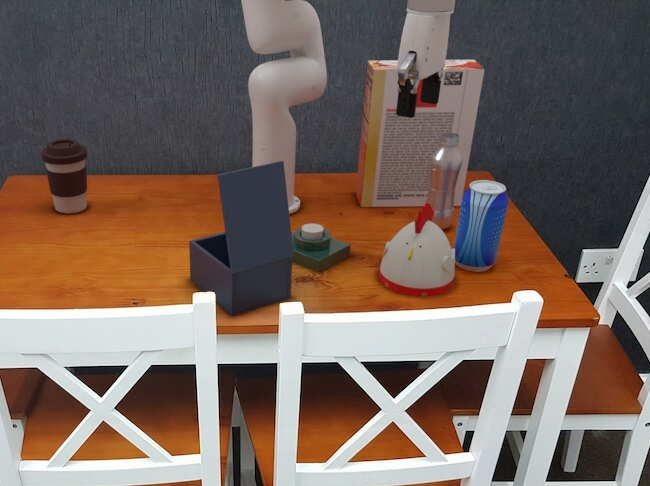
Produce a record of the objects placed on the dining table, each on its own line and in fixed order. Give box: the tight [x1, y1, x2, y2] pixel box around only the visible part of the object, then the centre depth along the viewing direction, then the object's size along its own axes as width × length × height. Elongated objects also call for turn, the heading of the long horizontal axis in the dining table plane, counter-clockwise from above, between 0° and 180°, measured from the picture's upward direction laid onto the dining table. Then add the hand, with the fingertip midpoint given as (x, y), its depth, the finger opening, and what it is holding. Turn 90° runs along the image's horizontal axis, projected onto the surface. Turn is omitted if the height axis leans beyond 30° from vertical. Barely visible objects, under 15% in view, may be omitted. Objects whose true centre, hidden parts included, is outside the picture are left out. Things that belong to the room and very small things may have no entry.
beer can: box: [453, 179, 510, 273], centre depth 151 cm, size 8×8×16 cm
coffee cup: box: [40, 138, 88, 215], centre depth 175 cm, size 10×10×15 cm
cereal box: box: [355, 59, 485, 208], centre depth 174 cm, size 23×8×30 cm, turn 91°
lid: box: [216, 161, 294, 272], centre depth 134 cm, size 16×13×1 cm
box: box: [188, 231, 293, 317], centre depth 145 cm, size 16×13×8 cm
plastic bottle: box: [426, 132, 462, 230], centre depth 164 cm, size 6×7×20 cm
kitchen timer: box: [378, 203, 456, 298], centre depth 146 cm, size 14×14×15 cm
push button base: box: [291, 227, 351, 273], centre depth 158 cm, size 12×10×4 cm
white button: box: [301, 222, 325, 240], centre depth 156 cm, size 4×4×2 cm
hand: (417, 109), depth 136 cm, fingers open, 9 cm apart
